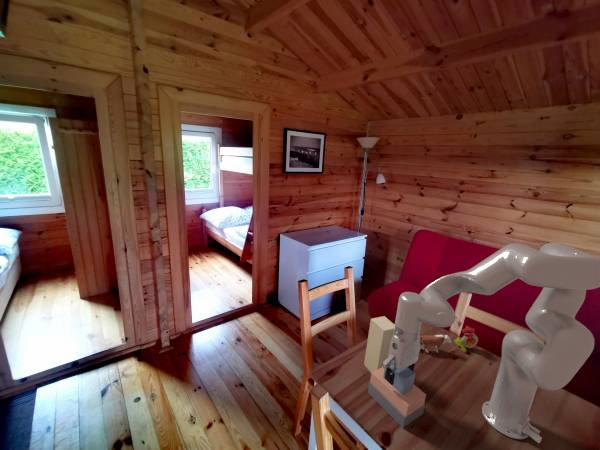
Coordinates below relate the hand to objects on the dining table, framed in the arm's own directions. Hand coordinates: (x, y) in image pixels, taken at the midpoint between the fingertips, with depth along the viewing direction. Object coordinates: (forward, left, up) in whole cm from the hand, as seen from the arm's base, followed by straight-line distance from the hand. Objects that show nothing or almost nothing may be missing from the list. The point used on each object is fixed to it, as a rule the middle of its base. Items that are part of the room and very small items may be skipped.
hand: (398, 376), depth 90 cm
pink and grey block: (0, 0, -11) cm, 11 cm away
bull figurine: (+10, -37, -11) cm, 40 cm away
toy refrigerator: (+13, -6, -11) cm, 18 cm away
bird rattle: (+4, -52, -11) cm, 53 cm away
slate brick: (0, 0, -3) cm, 3 cm away
